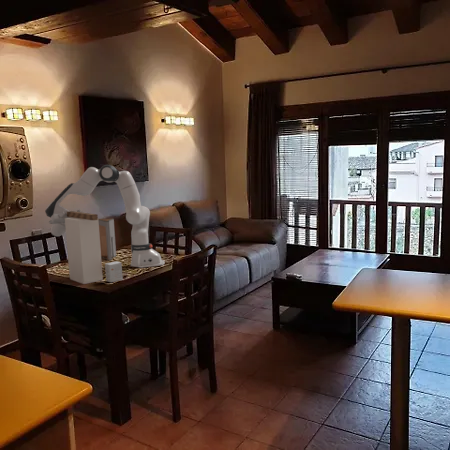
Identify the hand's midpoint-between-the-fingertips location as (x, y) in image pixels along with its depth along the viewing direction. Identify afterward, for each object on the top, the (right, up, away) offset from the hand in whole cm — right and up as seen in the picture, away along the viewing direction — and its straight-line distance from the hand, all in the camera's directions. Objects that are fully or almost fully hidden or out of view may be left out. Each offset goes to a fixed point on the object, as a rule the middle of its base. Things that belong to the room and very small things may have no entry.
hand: (72, 211), depth 282 cm
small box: (+27, -41, -7) cm, 49 cm away
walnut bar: (+8, -4, -8) cm, 12 cm away
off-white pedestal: (+9, -40, -2) cm, 41 cm away
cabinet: (+9, -32, +59) cm, 67 cm away
